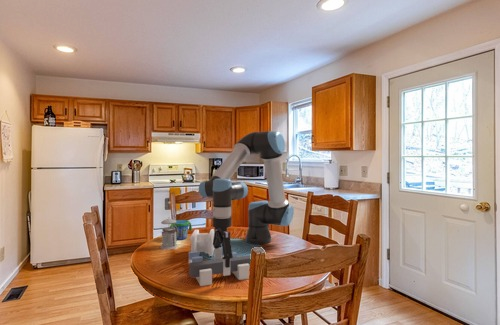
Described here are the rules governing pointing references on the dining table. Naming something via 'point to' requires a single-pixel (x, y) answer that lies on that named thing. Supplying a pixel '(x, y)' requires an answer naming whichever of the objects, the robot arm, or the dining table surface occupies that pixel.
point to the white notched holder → (206, 274)
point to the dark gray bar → (216, 265)
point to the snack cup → (181, 228)
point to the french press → (169, 235)
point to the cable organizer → (202, 242)
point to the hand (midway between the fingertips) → (221, 269)
